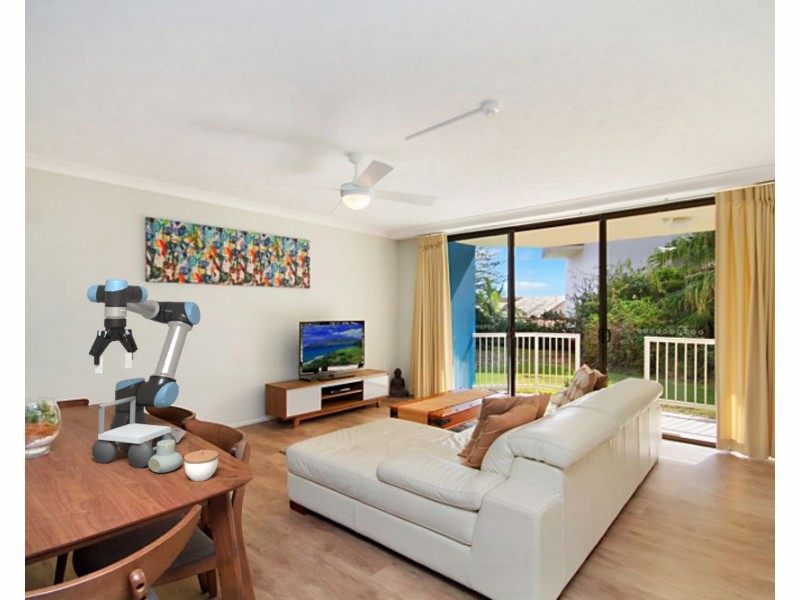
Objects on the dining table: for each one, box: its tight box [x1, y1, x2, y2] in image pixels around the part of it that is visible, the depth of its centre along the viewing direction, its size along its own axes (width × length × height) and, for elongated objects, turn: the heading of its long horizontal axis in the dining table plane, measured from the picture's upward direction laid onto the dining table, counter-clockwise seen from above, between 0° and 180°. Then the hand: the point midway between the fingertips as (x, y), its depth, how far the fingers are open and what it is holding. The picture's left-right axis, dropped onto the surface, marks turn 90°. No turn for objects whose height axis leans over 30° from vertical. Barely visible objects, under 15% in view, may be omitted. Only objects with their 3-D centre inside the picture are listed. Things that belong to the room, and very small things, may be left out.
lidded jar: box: [183, 449, 220, 482], centre depth 147 cm, size 11×11×9 cm
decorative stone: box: [169, 427, 187, 444], centre depth 184 cm, size 13×10×6 cm
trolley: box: [91, 396, 177, 469], centre depth 163 cm, size 15×25×22 cm, turn 77°
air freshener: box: [147, 440, 184, 474], centre depth 153 cm, size 11×8×10 cm
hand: (114, 370), depth 173 cm, fingers open, 13 cm apart
